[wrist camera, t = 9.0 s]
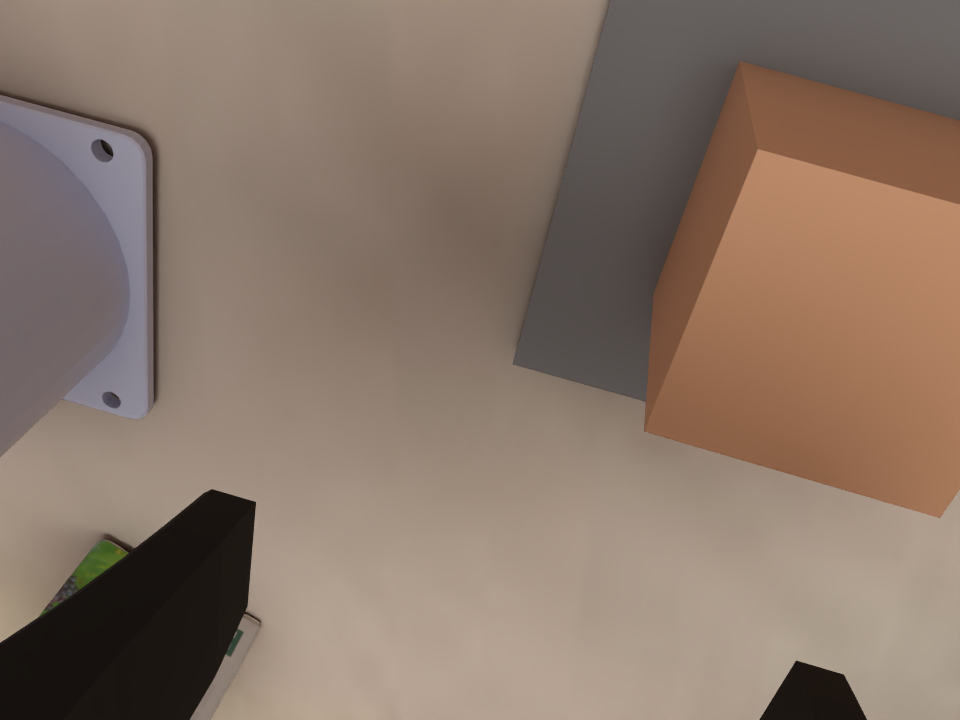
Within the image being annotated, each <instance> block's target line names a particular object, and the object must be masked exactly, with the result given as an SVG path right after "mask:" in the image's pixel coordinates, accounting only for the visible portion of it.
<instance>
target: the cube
mask: <svg viewBox="0 0 960 720" xmlns="http://www.w3.org/2000/svg"><path fill="white" fill-rule="evenodd" d="M644 432H648V433H651V434H655V435H658V436H662V437H665V438H668V439H672V440H675V441H679V442H682V443H686V444H689V445H692V446H696V447H699V448H703V449H706V450H709V451H713V452H716V453H720V454H723V455H727V456H730V457H733V458H737V459H740V460H744V461H747V462H750V463H754V464H757V465H761V466H764V467H768V468H771V469H774V470H778V471H781V472H785V473H788V474H791V475H795V476H798V477H802V478H805V479H809V480H812V481H815V482H819V483H822V484H826V485H829V486H833V487H836V488H839V489H843V490H846V491H850V492H853V493H856V494H860V495H863V496H867V497H870V498H874V499H877V500H880V501H884V502H887V503H891V504H894V505H897V506H901V507H904V508H908V509H911V510H915V511H918V512H921V513H925V514H928V515H932V516H935V517H938V518H940V517H941V516H942V514H943V513H944V511H945V510H946V508H947V507H948V505H949V504H950V503H951V501H952V500H953V498H954V497H955V495H956V494H957V492H958V491H959V489H960V120H956V119H952V118H948V117H945V116H941V115H937V114H934V113H930V112H926V111H923V110H919V109H915V108H911V107H908V106H904V105H900V104H897V103H893V102H889V101H886V100H882V99H878V98H875V97H871V96H867V95H863V94H860V93H856V92H852V91H849V90H845V89H841V88H838V87H834V86H830V85H826V84H823V83H819V82H815V81H812V80H808V79H804V78H801V77H797V76H793V75H790V74H786V73H782V72H778V71H775V70H771V69H767V68H764V67H760V66H756V65H753V64H749V63H745V62H742V61H740V62H739V64H738V67H737V70H736V72H735V75H734V78H733V80H732V83H731V86H730V89H729V91H728V94H727V97H726V99H725V102H724V105H723V107H722V110H721V113H720V116H719V118H718V121H717V124H716V126H715V129H714V132H713V134H712V137H711V140H710V143H709V145H708V148H707V151H706V153H705V156H704V159H703V161H702V164H701V167H700V170H699V172H698V175H697V178H696V180H695V183H694V186H693V188H692V191H691V194H690V197H689V199H688V202H687V205H686V207H685V210H684V213H683V216H682V218H681V221H680V224H679V226H678V229H677V232H676V234H675V237H674V240H673V243H672V245H671V248H670V251H669V253H668V256H667V259H666V261H665V264H664V267H663V270H662V272H661V275H660V278H659V280H658V283H657V286H656V288H655V291H654V294H653V307H652V322H651V336H650V351H649V366H648V381H647V395H646V410H645V425H644Z"/></svg>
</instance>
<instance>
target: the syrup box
mask: <svg viewBox="0 0 960 720" xmlns="http://www.w3.org/2000/svg"><path fill="white" fill-rule="evenodd" d="M127 554H128V552H127V551H125V550H124V549H123V548H122V547H120V546H118V545H117V544H115V543H113V542H111V541H109V540H105V539H104V540H100V541H99V542H98V543H97V544H96V545H95V546H94V547H93V548H92V550H91V551H90V552H89V553H88V555H87V556H86V557H85V559H84V560H83V561H82V562H81V564H80V565H79V566H78V567H77V569H76V570H75V571H74V572H73V574H72V575H71V576H70V578H69V579H68V580H67V581H66V583H65V584H64V585H63V586H62V588H61V589H60V590H59V591H58V593H57V594H56V595H55V596H54V598H53V599H52V600H51V602H50V603H49V604H48V605H47V607H46V608H45V609H44V611H43V612H42V613H41V615H40V616H42V615H43V614H45V613H46V612H48V611H49V610H51V609H52V608H54V607H55V606H57V605H58V604H60V603H61V602H63V601H64V600H65V599H67V598H68V597H70V596H71V595H73V594H74V593H75V592H77V591H78V590H80V589H81V588H82V587H84V586H85V585H86V584H88V583H89V582H90V581H92V580H93V579H95V578H96V577H97V576H99V575H100V574H101V573H103V572H104V571H105V570H107V569H108V568H110V567H111V566H112V565H114V564H115V563H116V562H118V561H119V560H121V559H122V558H123V557H125V556H126V555H127ZM40 616H39V617H40ZM259 625H260V623H259V622H258V621H257V620H256V619H254V618H252V617H251V616H249V615H247V614H244V615H243V617H242V619H241V622H240V624H239V626H238V628H237V631H236V633H235V635H234V637H233V640H232V642H231V644H230V646H229V648H228V650H227V653H226V655H225V657H224V659H223V661H222V663H221V665H220V668H219V670H218V672H217V674H216V676H215V678H214V680H213V681H212V683H211V685H210V686H209V688H208V690H207V692H206V693H205V695H204V697H203V698H202V700H201V702H200V703H199V705H198V707H197V708H196V710H195V712H194V713H193V715H192V717H191V718H190V720H211V719H212V717H213V715H214V713H215V711H216V709H217V707H218V705H219V703H220V702H221V700H222V698H223V696H224V695H225V693H226V691H227V689H228V688H229V686H230V684H231V682H232V681H233V679H234V677H235V675H236V673H237V672H238V670H239V668H240V666H241V664H242V662H243V661H244V659H245V657H246V655H247V653H248V651H249V649H250V648H251V646H252V644H253V642H254V640H255V638H256V636H257V634H258V631H259Z"/></svg>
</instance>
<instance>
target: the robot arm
mask: <svg viewBox="0 0 960 720" xmlns="http://www.w3.org/2000/svg"><path fill="white" fill-rule="evenodd" d="M101 139H102V140H104V141H106V142H108V144H109V145H110V146H111V147H112V150H113V156H110V155H109V154H107V153H106V152H105V151H104V150H103V148H102V145H101ZM111 392H112V393H114V394H116V395H117V396H118V397H119V398H120V400H119V399H117V398H115V397H114V396H113V395H112V394H111ZM61 399H64V400H67V401H71V402H74V403H78V404H81V405H85V406H88V407H92V408H95V409H98V410H102V411H105V412H109V413H112V414H116V415H119V416H122V417H126V418H129V419H136V420H138V419H142V418H144V417H145V416H146V415H147V414H148V412H149V411H150V410H151V409H152V407H153V403H154V391H153V157H152V152H151V148H150V146H149V145H148V143H147V141H146V140H145V139H144V138H143V137H142V136H141V135H140V134H138V133H136V132H134V131H131V130H128V129H124V128H121V127H117V126H113V125H110V124H106V123H102V122H99V121H95V120H91V119H88V118H84V117H80V116H77V115H73V114H69V113H65V112H62V111H58V110H54V109H51V108H47V107H43V106H40V105H36V104H32V103H29V102H25V101H21V100H18V99H14V98H10V97H7V96H3V95H0V457H1V456H2V455H3V454H4V453H5V452H6V451H8V450H9V449H10V448H11V447H12V446H13V445H14V444H15V443H16V442H17V441H18V440H19V439H20V438H21V437H22V436H23V435H24V434H25V433H26V432H27V431H29V430H30V429H31V428H32V427H33V426H34V425H35V424H36V423H37V422H38V421H39V420H40V419H41V418H42V417H43V416H44V415H45V414H46V413H47V412H49V411H50V410H51V409H52V408H53V407H54V406H55V405H56V404H57V403H58V402H59V401H60V400H61ZM255 508H256V502H254V501H250V500H247V499H244V498H240V497H237V496H233V495H230V494H227V493H223V492H220V491H216V490H213V489H212V490H210V491H208V492H205V493H203V494H202V495H201V496H200V497H199V498H197V499H196V500H195V501H194V502H193V503H191V504H190V505H189V506H188V507H187V508H185V509H184V510H183V511H182V512H180V513H179V514H178V515H177V516H175V517H174V518H173V519H172V520H171V521H169V522H168V523H167V524H166V525H164V526H163V527H162V528H161V529H159V530H158V531H157V532H156V533H154V534H153V535H152V536H150V537H149V538H148V539H147V540H145V541H144V542H143V543H141V544H140V545H139V546H138V547H136V548H135V549H134V550H132V551H131V552H130V553H128V554H127V555H126V556H125V557H123V558H122V559H121V560H119V561H118V562H116V563H115V564H114V565H112V566H111V567H110V568H108V569H107V570H105V571H104V572H103V573H101V574H100V575H99V576H97V577H96V578H95V579H93V580H92V581H90V582H89V583H88V584H86V585H85V586H84V587H82V588H81V589H80V590H78V591H77V592H75V593H74V594H73V595H71V596H70V597H68V598H67V599H65V600H64V601H63V602H61V603H60V604H58V605H57V606H55V607H54V608H52V609H51V610H49V611H48V612H46V613H45V614H43V615H42V616H40V617H38V618H37V619H35V620H34V621H32V622H31V623H29V624H28V625H26V626H25V627H23V628H22V629H20V630H19V631H17V632H16V633H14V634H13V635H11V636H10V637H8V638H7V639H5V640H4V641H2V642H1V643H0V720H190V718H191V717H192V715H193V713H194V712H195V710H196V708H197V707H198V705H199V703H200V702H201V700H202V698H203V697H204V695H205V693H206V692H207V690H208V688H209V686H210V685H211V683H212V681H213V680H214V678H215V676H216V674H217V672H218V670H219V668H220V665H221V663H222V661H223V659H224V657H225V655H226V653H227V650H228V648H229V646H230V644H231V642H232V640H233V637H234V635H235V633H236V631H237V628H238V626H239V624H240V622H241V619H242V617H243V615H244V613H245V611H246V608H247V605H248V593H249V581H250V569H251V556H252V544H253V532H254V520H255ZM760 720H867V719H866V717H865V715H864V713H863V711H862V709H861V707H860V705H859V703H858V701H857V699H856V697H855V695H854V693H853V691H852V689H851V687H850V686H849V684H848V682H847V680H846V678H845V676H844V675H843V674H840V673H836V672H833V671H830V670H826V669H823V668H819V667H816V666H813V665H809V664H806V663H802V662H799V661H796V662H795V663H794V665H793V667H792V668H791V670H790V672H789V673H788V675H787V676H786V678H785V680H784V681H783V683H782V684H781V686H780V688H779V689H778V691H777V692H776V694H775V696H774V697H773V699H772V700H771V702H770V704H769V705H768V707H767V709H766V710H765V712H764V713H763V715H762V717H761V718H760Z"/></svg>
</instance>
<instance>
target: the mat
mask: <svg viewBox="0 0 960 720" xmlns="http://www.w3.org/2000/svg"><path fill="white" fill-rule="evenodd" d="M740 61H742V62H745V63H749V64H753V65H756V66H760V67H764V68H767V69H771V70H775V71H778V72H782V73H786V74H790V75H793V76H797V77H801V78H804V79H808V80H812V81H815V82H819V83H823V84H826V85H830V86H834V87H838V88H841V89H845V90H849V91H852V92H856V93H860V94H863V95H867V96H871V97H875V98H878V99H882V100H886V101H889V102H893V103H897V104H900V105H904V106H908V107H911V108H915V109H919V110H923V111H926V112H930V113H934V114H937V115H941V116H945V117H948V118H952V119H956V120H960V0H610V3H609V7H608V11H607V15H606V18H605V22H604V26H603V29H602V33H601V37H600V41H599V44H598V48H597V52H596V56H595V59H594V63H593V67H592V71H591V74H590V78H589V82H588V86H587V89H586V93H585V97H584V100H583V104H582V108H581V112H580V115H579V119H578V123H577V127H576V130H575V134H574V138H573V142H572V145H571V149H570V153H569V156H568V160H567V164H566V168H565V171H564V175H563V179H562V183H561V186H560V190H559V194H558V198H557V201H556V205H555V209H554V212H553V216H552V220H551V224H550V227H549V231H548V235H547V239H546V242H545V246H544V250H543V254H542V257H541V261H540V265H539V269H538V272H537V276H536V280H535V283H534V287H533V291H532V295H531V298H530V302H529V306H528V310H527V313H526V317H525V321H524V325H523V328H522V332H521V336H520V339H519V343H518V347H517V351H516V354H515V358H514V362H513V364H514V365H517V366H521V367H525V368H528V369H532V370H535V371H539V372H542V373H546V374H550V375H553V376H557V377H560V378H564V379H567V380H571V381H575V382H578V383H582V384H585V385H589V386H592V387H596V388H600V389H603V390H607V391H610V392H614V393H617V394H621V395H625V396H628V397H632V398H635V399H639V400H642V401H646V395H647V381H648V366H649V351H650V336H651V322H652V307H653V294H654V291H655V288H656V286H657V283H658V280H659V278H660V275H661V272H662V270H663V267H664V264H665V261H666V259H667V256H668V253H669V251H670V248H671V245H672V243H673V240H674V237H675V234H676V232H677V229H678V226H679V224H680V221H681V218H682V216H683V213H684V210H685V207H686V205H687V202H688V199H689V197H690V194H691V191H692V188H693V186H694V183H695V180H696V178H697V175H698V172H699V170H700V167H701V164H702V161H703V159H704V156H705V153H706V151H707V148H708V145H709V143H710V140H711V137H712V134H713V132H714V129H715V126H716V124H717V121H718V118H719V116H720V113H721V110H722V107H723V105H724V102H725V99H726V97H727V94H728V91H729V89H730V86H731V83H732V80H733V78H734V75H735V72H736V70H737V67H738V64H739V62H740Z"/></svg>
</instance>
